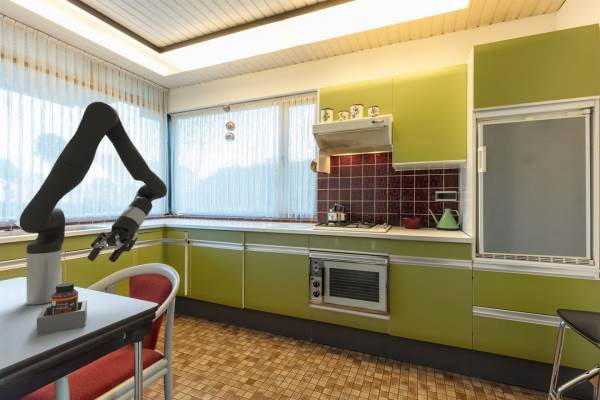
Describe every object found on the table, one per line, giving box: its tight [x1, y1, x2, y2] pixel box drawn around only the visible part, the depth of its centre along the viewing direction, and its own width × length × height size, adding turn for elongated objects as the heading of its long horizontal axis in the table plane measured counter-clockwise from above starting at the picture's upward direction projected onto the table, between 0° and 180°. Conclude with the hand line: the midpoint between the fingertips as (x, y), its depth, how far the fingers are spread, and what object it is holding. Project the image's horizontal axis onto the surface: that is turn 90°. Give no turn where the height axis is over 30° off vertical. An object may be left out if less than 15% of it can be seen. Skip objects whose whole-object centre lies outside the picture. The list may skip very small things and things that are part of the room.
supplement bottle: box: [50, 282, 79, 315], centre depth 81 cm, size 6×6×11 cm
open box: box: [36, 299, 88, 337], centre depth 81 cm, size 10×10×4 cm
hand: (100, 260), depth 92 cm, fingers open, 8 cm apart
